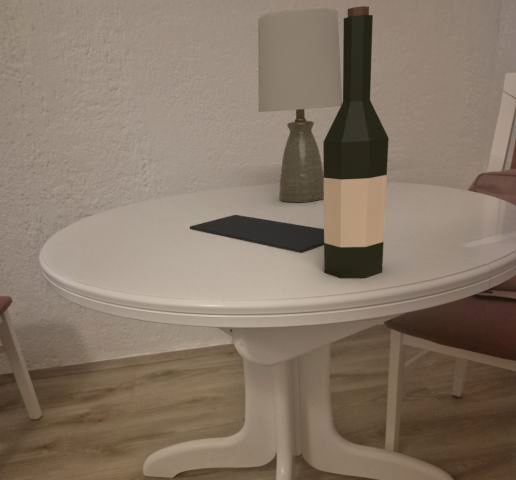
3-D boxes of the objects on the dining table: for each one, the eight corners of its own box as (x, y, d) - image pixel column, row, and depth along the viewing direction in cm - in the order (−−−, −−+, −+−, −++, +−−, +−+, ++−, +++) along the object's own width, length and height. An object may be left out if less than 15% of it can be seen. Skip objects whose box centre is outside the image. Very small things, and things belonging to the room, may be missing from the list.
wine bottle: (334, 282, 62) (335, 2, 49) (315, 264, 70) (310, 16, 56) (394, 273, 64) (411, -1, 50) (369, 256, 71) (377, 13, 57)
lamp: (284, 209, 106) (275, 7, 89) (252, 198, 121) (239, 23, 104) (356, 198, 111) (361, 6, 95) (317, 188, 127) (315, 22, 110)
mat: (348, 235, 82) (348, 233, 82) (301, 252, 75) (301, 249, 75) (235, 216, 103) (235, 214, 102) (189, 228, 96) (189, 226, 95)
